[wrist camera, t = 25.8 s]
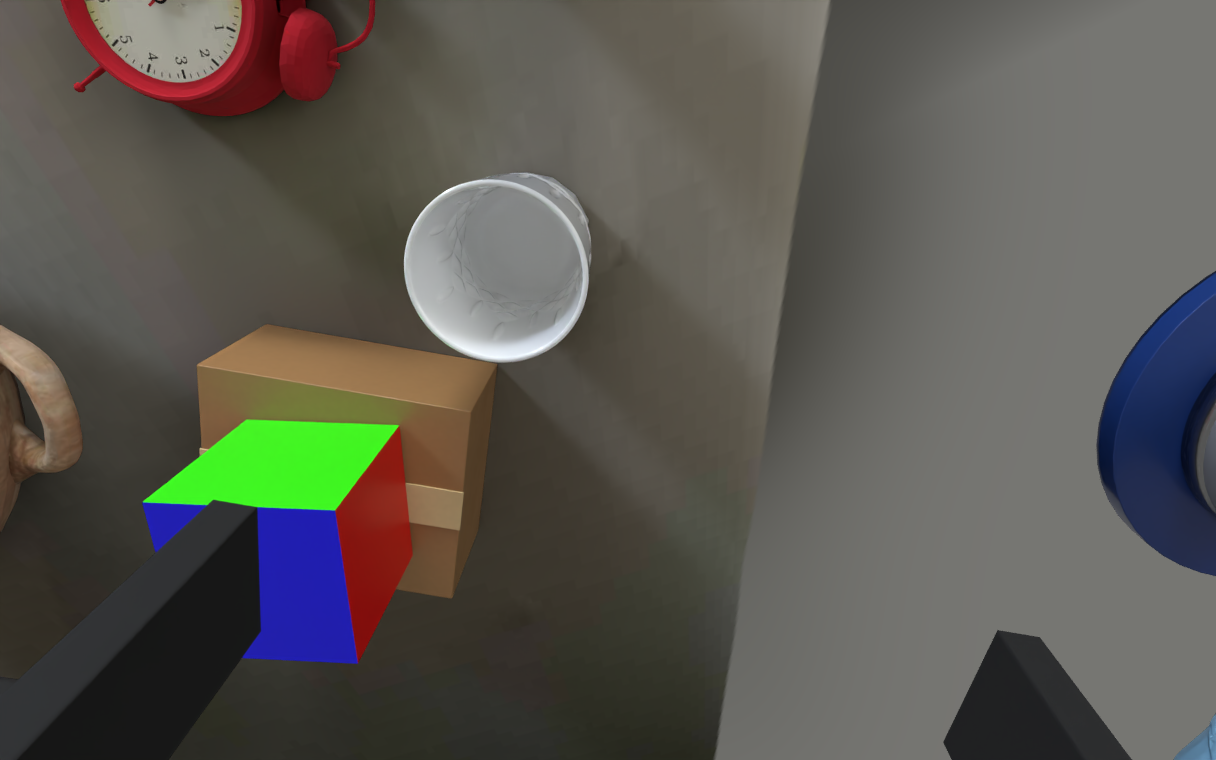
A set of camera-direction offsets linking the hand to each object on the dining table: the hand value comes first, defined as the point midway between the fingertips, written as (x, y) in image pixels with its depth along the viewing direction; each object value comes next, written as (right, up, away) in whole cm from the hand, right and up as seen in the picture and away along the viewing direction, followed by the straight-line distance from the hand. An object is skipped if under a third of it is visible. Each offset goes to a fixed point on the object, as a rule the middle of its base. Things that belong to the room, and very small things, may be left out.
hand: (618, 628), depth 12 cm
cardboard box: (-15, +1, +31) cm, 34 cm away
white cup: (-5, +13, +26) cm, 30 cm away
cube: (-15, -1, +25) cm, 29 cm away
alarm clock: (-19, +24, +23) cm, 38 cm away
